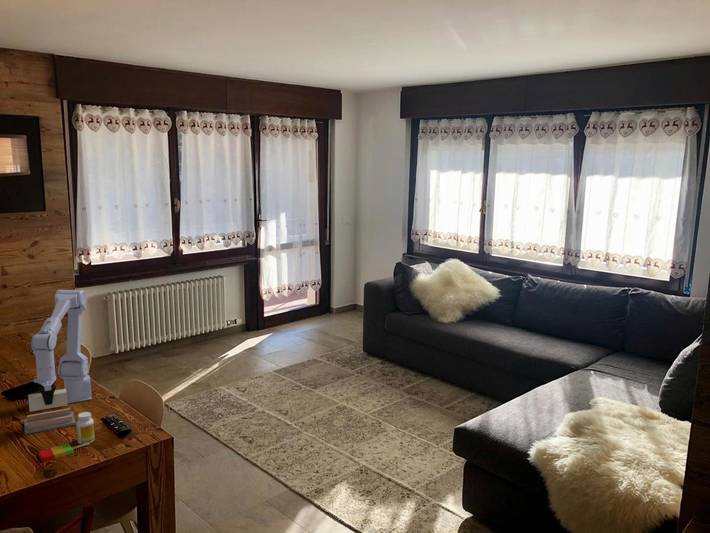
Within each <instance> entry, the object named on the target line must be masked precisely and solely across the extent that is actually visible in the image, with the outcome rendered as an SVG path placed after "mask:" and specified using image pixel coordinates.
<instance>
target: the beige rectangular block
mask: <svg viewBox="0 0 710 533" xmlns="http://www.w3.org/2000/svg"><path fill="white" fill-rule="evenodd" d="M27 396H28V408H29V412H30V413H31V412H36V411H43V410H48V409H53V408H60V407H65V406H68V403H67V392H66V389H65V388H63V389H56V390H55V392H54V395H53V402H52V404H51V405H45V403H44V399H43V396H42V394H41V393H40V392H36V393H31V394H28V395H27Z"/></svg>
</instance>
